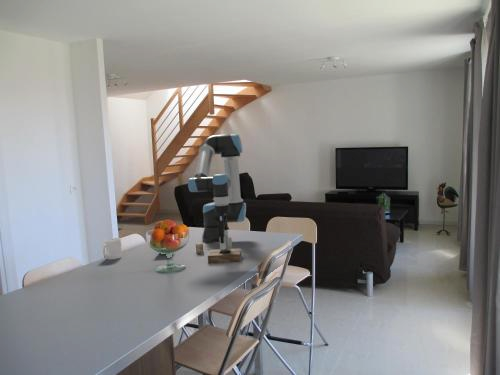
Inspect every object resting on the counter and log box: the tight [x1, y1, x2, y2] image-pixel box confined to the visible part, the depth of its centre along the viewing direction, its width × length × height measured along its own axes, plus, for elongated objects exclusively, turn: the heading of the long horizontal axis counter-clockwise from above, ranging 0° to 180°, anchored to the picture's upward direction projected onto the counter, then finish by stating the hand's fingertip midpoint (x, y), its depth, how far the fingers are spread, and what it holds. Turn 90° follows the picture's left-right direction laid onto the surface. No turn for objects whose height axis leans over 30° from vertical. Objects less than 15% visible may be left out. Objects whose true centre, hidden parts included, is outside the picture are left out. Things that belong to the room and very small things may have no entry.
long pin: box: [221, 235, 229, 254], centre depth 209 cm, size 4×4×12 cm
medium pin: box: [228, 235, 233, 249], centre depth 225 cm, size 4×4×8 cm
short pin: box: [195, 242, 205, 255], centre depth 226 cm, size 4×4×5 cm
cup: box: [102, 237, 123, 261], centre depth 224 cm, size 8×12×10 cm
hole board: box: [207, 248, 243, 265], centre depth 209 cm, size 12×16×4 cm
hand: (224, 245), depth 209 cm, fingers open, 13 cm apart
